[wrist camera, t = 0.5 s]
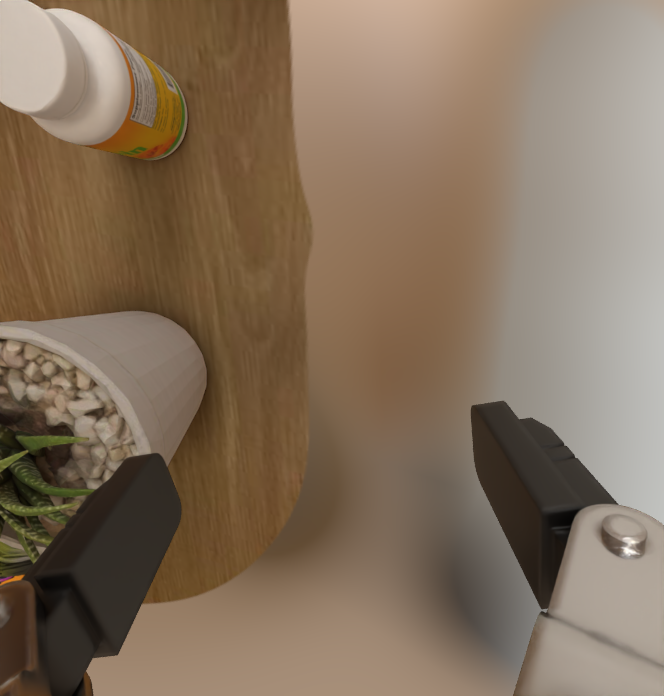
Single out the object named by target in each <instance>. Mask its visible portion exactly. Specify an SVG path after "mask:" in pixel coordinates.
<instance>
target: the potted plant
mask: <svg viewBox="0 0 664 696" xmlns="http://www.w3.org/2000/svg"><path fill="white" fill-rule="evenodd" d="M206 386H207V369H206V366H205V362H204V358H203V355H202V353H201V351H200V349H199V348H198V346H197V344H196V342H195V341H194V340H193V339H192V337H191V336H190V335H189V334H188V333H187V332H186V330H185V329H183V328H182V327H180V326H179V325H178V324H176V323H175V322H173V321H172V320H170V319H168V318H166V317H163V316H161V315H159V314H156V313H150V312H143V311H125V312H116V313H107V314H99V315H90V316H81V317H72V318H64V319H55V320H46V321H37V322H30V321H10V322H0V541H1V542H3V543H5V544H7V545H9V546H11V547H14V548H18V549H22V550H25V552H26V553H27V555H28V556H29V558H30V559H31V561H32V562H33V564H34V563H35V562H36V560H37V559H38V558H39V557H40V554H42V553H43V552H44V550H45V549H46V548H47V547H48V545H49V544H50V543H51V542H52V540H53V539H54V538H55V537H56V535H57V534H58V533H59V532H60V531H61V529H64V528H65V524H66V523H67V522H68V521H69V519H70V518H71V517H72V516H73V515H75V514H76V511H77V509H78V508H79V507H80V506H81V504H82V503H83V502H84V501H85V499H86V498H87V497H88V496H89V495H90V494H91V493H92V492H93V491H95V490H96V489H97V488H98V487H100V486H101V485H102V484H103V483H105V482H106V481H107V480H108V479H110V478H111V476H112V475H113V474H114V472H115V471H116V470H117V469H118V467H119V466H120V465H121V463H122V462H123V461H124V460H125V459H126V458H127V457H132V456H138V455H145V454H151V453H159V454H160V455H161V456H162V457H163V458H164V461H165V463H166V466H167V467H168V465H169V463H170V461H171V459H172V457H173V455H174V454H175V452H176V450H177V448H178V446H179V444H180V442H181V441H182V439H183V437H184V435H185V433H186V431H187V429H188V427H189V426H190V424H191V422H192V420H193V418H194V416H195V414H196V413H197V411H198V409H199V406H200V404H201V401H202V399H203V395H204V392H205V389H206Z"/></svg>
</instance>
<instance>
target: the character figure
mask: <svg viewBox="0 0 664 696" xmlns="http://www.w3.org/2000/svg"><path fill="white" fill-rule="evenodd" d="M40 555H41V554H40ZM32 565H33V562H32V561H31V559H30V558H29V556H28V555H27V553H26V552H25V550H22V549H18V548H14V547H11V546H9V545H7V544H5V543H3V542H1V541H0V584H1V583H2V582H4V581H6V580H9V579H12V578H14V576H20V575H25V574H26V573H27V572H28V570H29V569H30V568H31V567H32Z"/></svg>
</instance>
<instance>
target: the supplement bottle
mask: <svg viewBox="0 0 664 696" xmlns="http://www.w3.org/2000/svg"><path fill="white" fill-rule="evenodd" d="M0 102H1V103H3V104H4V105H5V106H7V107H9V108H11V109H13V110H15V111H18V112H21V113H24V114H27V115H30V116H31V117H32V118H33V120H34V121H35V122H36V123H37V124H38V125H40V126H41V127H42V128H43V129H44V130H46V131H47V132H48V133H50V134H52V135H53V136H55V137H57V138H59V139H61V140H64V141H67V142H70V143H73V144H77V145H81V146H86V147H90V148H94V149H99V150H103V151H107V152H111V153H116V154H120V155H125V156H129V157H133V158H137V159H143V160H157V159H161V158H164V157H166V156H168V155H170V154H171V153H172V152H174V151H175V150H176V149H177V148H178V146H179V145H180V143H181V142H182V140H183V138H184V135H185V132H186V128H187V119H188V115H187V106H186V102H185V99H184V96H183V94H182V91H181V89H180V87H179V86H178V84H177V83H176V81H175V80H174V79H173V77H172V76H171V75H170V74H169V73H168V72H167V71H165V70H164V69H163V68H162V67H160V66H159V65H158V64H156V63H155V62H153V61H152V60H151V59H149V58H148V57H146V56H145V55H143V54H141V53H140V52H138V51H137V50H136V49H134V48H133V47H131V46H130V45H128V44H127V43H125V42H124V41H122V40H121V39H119V38H118V37H116V36H115V35H113V34H112V33H110V32H109V31H108V30H106V29H105V28H103V27H102V26H100V25H99V24H97V23H96V22H94V21H93V20H91V19H89V18H87V17H85V16H83V15H81V14H79V13H76V12H74V11H71V10H66V9H46V10H44V9H42V8H40V7H38V6H37V5H35V4H33V3H32V2H30V1H28V0H0Z"/></svg>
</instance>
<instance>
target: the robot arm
mask: <svg viewBox="0 0 664 696" xmlns="http://www.w3.org/2000/svg"><path fill="white" fill-rule="evenodd" d="M471 423H472V437H473V452H474V462H475V467H476V472H477V475H478V478H479V481H480V483H481V486H482V487H483V490H484V492H485V494H486V496H487V498H488V500H489V502H490V504H491V506H492V508H493V510H494V513H495V515H496V517H497V519H498V521H499V523H500V525H501V527H502V529H503V531H504V533H505V535H506V537H507V539H508V541H509V543H510V546H511V548H512V550H513V552H514V554H515V556H516V558H517V560H518V562H519V564H520V566H521V568H522V570H523V572H524V574H525V576H526V579H527V581H528V583H529V585H530V587H531V589H532V591H533V593H534V595H535V597H536V599H537V601H538V603H539V605H540V607H541V609H547V608H548V610H547V612H546V613H545V612H540V614H539V615H538V617H537V620H536V623H535V625H534V628H533V632H532V635H531V638H530V641H529V645H528V648H527V651H526V655H525V658H524V662H523V665H522V668H521V671H520V674H519V678H518V681H517V684H516V688H515V691H514V694H513V696H664V525H663V524H662V523H660V522H659V521H657V520H656V519H654V518H653V517H651V516H649V515H647V514H645V513H643V512H641V511H638V510H636V509H632V508H629V507H626V506H621V505H618V503H616V501H615V500H614V499H613V498H612V497H611V496H610V494H609V493H608V492H607V491H606V490H605V489H604V488H603V487H602V485H601V484H600V483H599V482H598V481H597V480H596V479H595V477H594V476H593V475H592V474H591V473H590V472H589V471H588V470H587V468H586V467H585V466H584V465H583V464H582V463H581V462H580V461H579V460H578V458H575V456H574V454H573V453H572V452H571V450H570V449H569V448H568V447H567V446H564V443H563V441H562V440H561V439H560V438H559V437H558V436H557V435H556V434H555V433H554V431H553V430H552V429H551V428H549V427H547V426H545V425H544V424H542V423H540V422H538V421H536V420H535V419H533V418H526V419H518V417H517V416H516V415H515V414H514V412H513V411H512V410H511V409H510V407H509V406H508V405H507V403H506V402H504V401H498V402H492V403H485V404H478V405H473V406H472V407H471ZM180 519H181V502H180V498H179V496H178V493H177V491H176V488H175V486H174V483H173V481H172V478H171V476H170V473H169V471H168V468H167V466H166V463H165V461H164V458H163V457H162V456H161V455H160V454H159V453H151V454H145V455H138V456H132V457H127V458H126V459H125V460H124V461H123V462H122V463H121V465H120V466H119V467H118V469H117V470H116V471H115V472H114V474H113V475H112V476H111V478H110V479H108V480H107V481H106V482H105V483H103V484H102V485H101V486H100V487H98V488H97V489H96V490H95V491H93V492H92V493H91V494H90V495H89V496H88V497H87V498H86V499H85V501H84V502H83V503H82V504H81V506H80V507H79V508H78V509H77V511H76V514H75V515H73V516H72V517H71V518H70V519H69V521H68V522H67V523H66V524H65V528H64V529H61V531H60V532H59V533H58V534H57V535H56V537H55V538H54V539H53V540H52V542H51V543H50V544H49V545H48V547H47V548H46V549H45V550H44V552H43V553H42V554H41V555H40V557H39V558H38V559H37V560H36V562H35V563H34V564H33V565H32V567H31V568H30V569H29V570H28V572H27V573H26V574H25V575H24V576H23V578H22V579H21V580H17V581H12V582H8V583H5V584H3V585H0V696H93V689H92V683H91V679H90V677H89V676H88V674H87V672H86V670H87V668H88V666H89V664H90V662H91V660H92V658H97V657H107V656H115V655H118V653H119V651H120V649H121V647H122V645H123V643H124V641H125V639H126V636H127V634H128V632H129V630H130V628H131V626H132V624H133V621H134V619H135V617H136V615H137V613H138V611H139V609H140V606H141V604H142V602H143V600H144V598H145V596H146V594H147V592H148V589H149V587H150V585H151V583H152V581H153V579H154V577H155V574H156V572H157V570H158V568H159V566H160V564H161V562H162V560H163V557H164V555H165V553H166V551H167V549H168V547H169V545H170V542H171V540H172V538H173V536H174V534H175V532H176V530H177V528H178V525H179V523H180Z"/></svg>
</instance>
